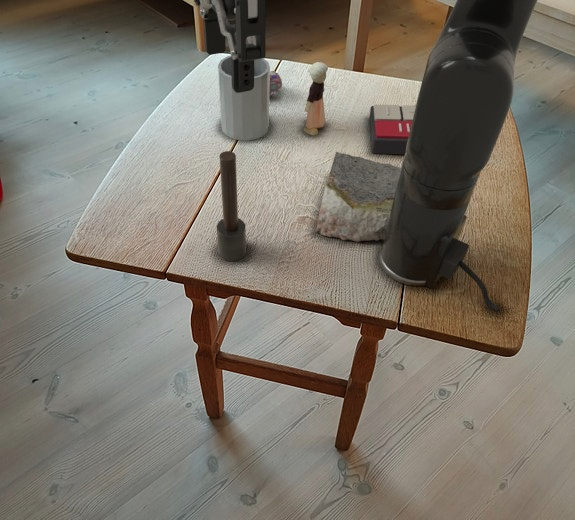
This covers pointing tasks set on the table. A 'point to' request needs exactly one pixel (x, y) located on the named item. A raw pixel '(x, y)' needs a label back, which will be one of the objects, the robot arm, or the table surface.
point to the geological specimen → (357, 199)
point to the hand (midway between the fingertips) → (228, 70)
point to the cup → (244, 102)
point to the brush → (230, 213)
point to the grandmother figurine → (316, 99)
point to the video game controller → (275, 81)
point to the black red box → (390, 128)
